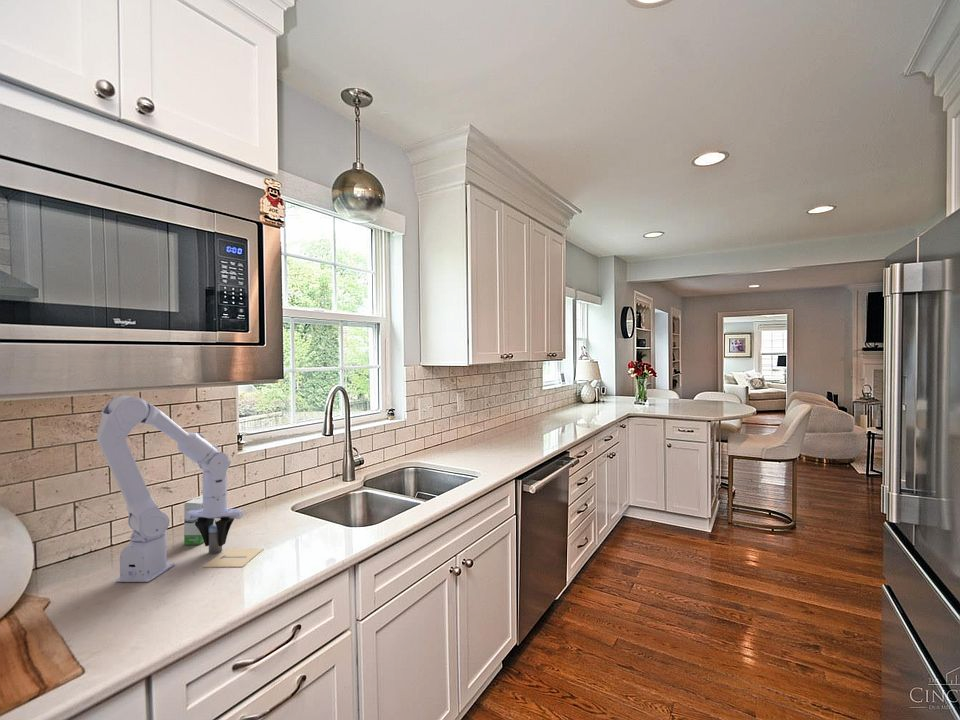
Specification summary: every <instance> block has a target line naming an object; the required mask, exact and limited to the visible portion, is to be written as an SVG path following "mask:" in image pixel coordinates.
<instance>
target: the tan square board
mask: <svg viewBox="0 0 960 720" xmlns="http://www.w3.org/2000/svg"><path fill="white" fill-rule="evenodd" d="M263 550H264V548H227V549H225V550H223V551H222V552H220V553H219V555H217V556H216V557H214V558H213V559H211V560H210V561H209V562H207V563H206V564H205V565H203V566H202V567H203V568H243V567H245V566H246V565H247V564H248V563H250V562H251V561H252V560H253V559H254V558H255V557H256V556H257V555H259V554H260V553H261V552H262V551H263ZM251 559H252V560H251ZM246 563H247V564H246ZM245 564H246V565H245ZM244 565H245V566H244Z"/></svg>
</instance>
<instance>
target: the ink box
mask: <svg viewBox="0 0 960 720" xmlns="http://www.w3.org/2000/svg"><path fill="white" fill-rule="evenodd" d="M201 509H203V494H202V495H199V496H197V497H195V498H192V499H190V500H187V501H186V502H184V509H183V510H184V511H183V512H184V513H183V514H184V516H183V518H184V519H183V533H184V534H183V535H184V536H183V538H184V541H183V543H184V545H191V546H192V545H194V546H195V545H202V544H203V543H204V540H203V537H202V535H201V533H200V531H199V530H198V528H197V527H196V526H195V522H197V520H198V519H187V512H189V511H190V510H201ZM217 521H218V518H214V522H213V525H214V524H216V522H217ZM201 543H202V544H201Z"/></svg>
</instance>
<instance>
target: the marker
mask: <svg viewBox="0 0 960 720" xmlns="http://www.w3.org/2000/svg"><path fill="white" fill-rule="evenodd" d="M208 532H209V546H208V554H210V555H217V554H220V553H222V552H223V545H222V546H219V544H218V530H217V526H216V524H214V525H211V526H209V527H208ZM221 551H222V552H221ZM219 552H220V553H219ZM216 553H217V554H216Z"/></svg>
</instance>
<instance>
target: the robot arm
mask: <svg viewBox="0 0 960 720" xmlns="http://www.w3.org/2000/svg"><path fill="white" fill-rule="evenodd" d="M99 422H100V423H99V426H98V430H97V434H96V441H97V444H98V446H99V448H100V450H101V452H102V454H103V456H104V458H105V461H106V463H107V465H108V468H109V469H110V471H111V474H112V476H113V478H114V480H115V482H116V483H117V485H118V488H119V490H120V494H122V497H123V499H124V501H125V503H126V510H127V513H128V519H127V524H128V526H129V527H130V529H132V530H133V531H132V533H131V535H130V540H129V542H128V544H127V546H126V547H124V548H123V549H122V550H121V552H120V553H119V578H117V579H116V582H117V583H124V582H125V583H130V582H131V583H132V582H133V583H138V582H139V583H143V582H144V583H148V582H150V581H152V580H153V579H155V578H157V577H158V576H160V575H162V574H164V572H166V571H167V570H169V569H171V568H172V567H174V566H175V565H176V562H167V561H168V557H167V555H168V554H167V531H168V528H169V526H170V519H169V516H168V515H167V514H166V513H164V512H162V511H161V510H160V508H159V505H158V504H157V503H156V501H155V500H154V499H153V497H152V495H151V493H150V491H149V489H148V487H147V484H146V483H145V482H146V481H145V480H144V478H143V476H142V473H141V471H140V468H139V466H138V465H137V462H136V461H135V458H134V456H133V454H132V451H131V449H130V446H129V445H128V443H127V437H128V436H129V434H130V433H131V432H132V430H133V428H135V427H136V426H137V425H139V424H140V423H142V424H146V425H151V426H152V427H154V428H156V429H157V430H158V431H160V432H162V433H163V434H164V435H165V436H167V437H169V438H171V440H173V441H174V442H176V444H177V451H179V452H181V454H183V455H185V456H186V457H188V459H190V460H191V461H193V462H194V463H195V464H197V465H198V467H199V469H201V470H202V469H203V470H202V495H203V509H201V510H190V511H189V512H187V519H198V520H197V522H195V526H196V527H197V528H198V530H199V531H200V533H201V535H202V537H203V540H204V542H203V543H204V547H209V532H208V527H209V526H211V525H213V522H214V518H217V519H219V520H217V522H216V526H217V530H218V544H219V546H222V547H223V546H224V545H225V544H226V542H227V538H228V535H229V530H230V529H231V526H232V524H233V522H234V520H235V519H236V520H240V519H242V518H243V517H244V509H235V508H231V507H230V508H229V507H228V496H227V494H228V493H227V491H228V489H227V488H228V485H227V483H228V482H227V481H228V480H227V479H228V478H227V471H228V470H229V468H230V466H231V460H230V458H229V456H228V455H227V454H226V453H225V452H222V451H219V450H218V448H219V446H217V445H216V444H214V445H213V444H211V443H210V441H209V442H208V441H207V440H206V439H205V438H206V436H205V435H204V434H203V433H197V432H187V431H185V429H184V428H182V427H181V426H180V425H179V424H177V423H176V422H175V421H173V419H172V418H170V417H169V416H168V415H167V414H165V413H164V412H163V411H162V410H160V409H159V408H157V407H156V406H154V405H153V404H151V403H148V402H147V401H146V400H144V399H143V398H141V397H138V396H131V395H130V396H129V395H125V394H124V395H123V394H121V395H117V396H115V397H113V398H112V399H110V400H109V401H108V402H107V404H106V405H105V406H104V408H103V409H102V410H101V418H100V421H99Z"/></svg>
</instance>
